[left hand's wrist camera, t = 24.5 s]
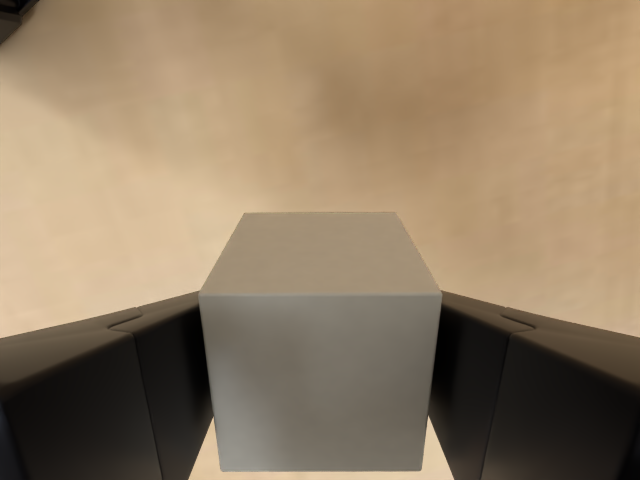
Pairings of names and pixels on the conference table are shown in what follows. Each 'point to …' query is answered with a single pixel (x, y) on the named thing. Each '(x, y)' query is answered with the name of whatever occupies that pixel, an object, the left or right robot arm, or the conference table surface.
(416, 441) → the block
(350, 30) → the conference table surface
